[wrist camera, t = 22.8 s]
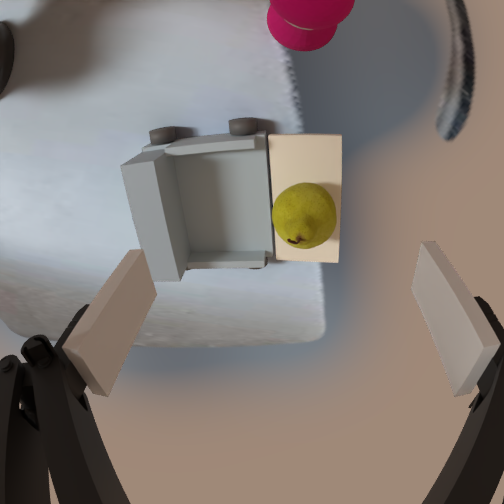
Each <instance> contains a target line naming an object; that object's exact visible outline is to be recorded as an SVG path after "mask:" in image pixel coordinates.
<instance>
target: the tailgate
mask: <svg viewBox="0 0 504 504" xmlns="http://www.w3.org/2000/svg"><path fill="white" fill-rule="evenodd" d="M268 140H269V154H270V168H271V182H272V197H273V206H274V202H275V200H276V198H277V197H278V196H279V195H280V194H281V193H282V192H283V191H284V190H285V189H287V188H289V187H290V186H293V185H295V184H298V183H303V182H307V183H314V184H318V185H320V186H322V187H323V188H324V189H326V190H327V191H328V192H329V194H330V195H331V197H332V199H333V201H334V203H335V207H336V216H337V223H336V227H335V230H334V232H333V233H332V235H331V236H330V238H329V239H328V240H327V241H326V242H324V243H323V244H321V245H319V246H316V247H313V248H310V249H299V248H294V247H292V246H290V245H289V244H287V243H286V242H285V241H283V240H282V239H281V238H280V236H279V235H278V234H277V232H276V230H275V246H276V260H290V261H312V262H334V263H337V262H338V257H339V240H340V220H341V189H342V188H341V187H342V184H341V183H342V182H341V181H342V135H341V134H269V135H268ZM274 229H275V227H274Z"/></svg>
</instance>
